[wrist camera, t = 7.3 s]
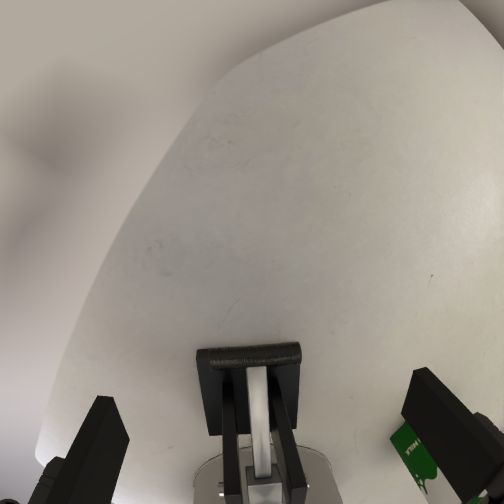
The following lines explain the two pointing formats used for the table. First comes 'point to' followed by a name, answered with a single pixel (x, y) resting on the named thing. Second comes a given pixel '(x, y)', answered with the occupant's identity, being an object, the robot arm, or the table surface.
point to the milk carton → (425, 469)
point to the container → (314, 465)
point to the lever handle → (258, 409)
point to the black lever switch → (238, 422)
